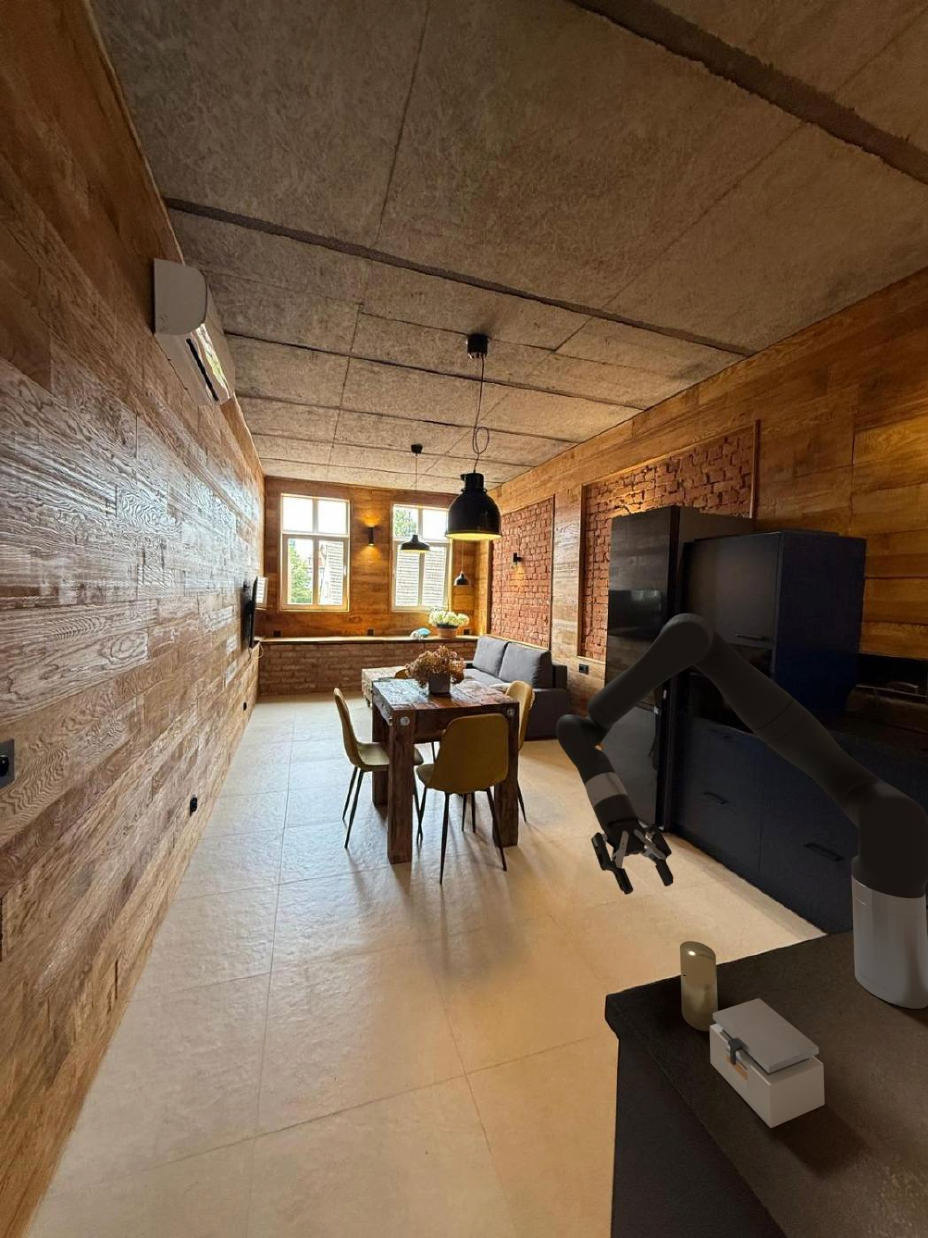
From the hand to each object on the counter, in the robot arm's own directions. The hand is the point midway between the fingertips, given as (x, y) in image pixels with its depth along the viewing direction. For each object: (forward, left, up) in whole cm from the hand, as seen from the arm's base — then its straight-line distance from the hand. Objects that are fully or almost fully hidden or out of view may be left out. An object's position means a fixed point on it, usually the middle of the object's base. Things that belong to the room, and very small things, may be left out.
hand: (650, 889), depth 83 cm
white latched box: (0, +22, -14) cm, 26 cm away
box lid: (+1, +22, -11) cm, 25 cm away
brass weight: (0, +11, -14) cm, 18 cm away
